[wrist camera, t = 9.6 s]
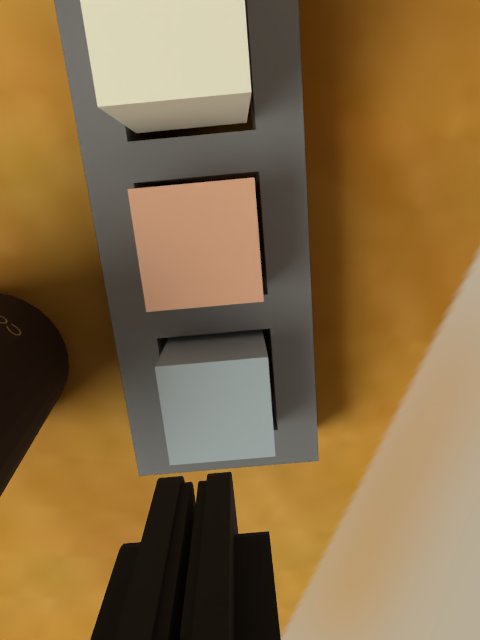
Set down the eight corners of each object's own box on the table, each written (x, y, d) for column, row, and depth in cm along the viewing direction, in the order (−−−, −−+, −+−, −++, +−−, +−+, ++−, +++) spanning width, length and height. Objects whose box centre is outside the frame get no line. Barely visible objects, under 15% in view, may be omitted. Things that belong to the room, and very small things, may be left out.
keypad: (35, -238, 14) (-5, -328, 12) (274, -264, 14) (282, -359, 12) (149, 444, 21) (138, 475, 19) (309, 431, 21) (318, 460, 19)
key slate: (172, 329, 19) (154, 366, 15) (260, 321, 19) (267, 356, 15) (183, 408, 20) (169, 465, 16) (266, 401, 20) (275, 456, 16)
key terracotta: (153, 191, 18) (127, 189, 13) (249, 182, 18) (254, 177, 13) (166, 286, 19) (146, 312, 14) (257, 277, 19) (263, 301, 14)
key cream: (117, 4, 14) (66, -82, 10) (236, -7, 14) (237, -99, 10) (136, 133, 15) (97, 107, 11) (246, 122, 15) (251, 92, 11)
